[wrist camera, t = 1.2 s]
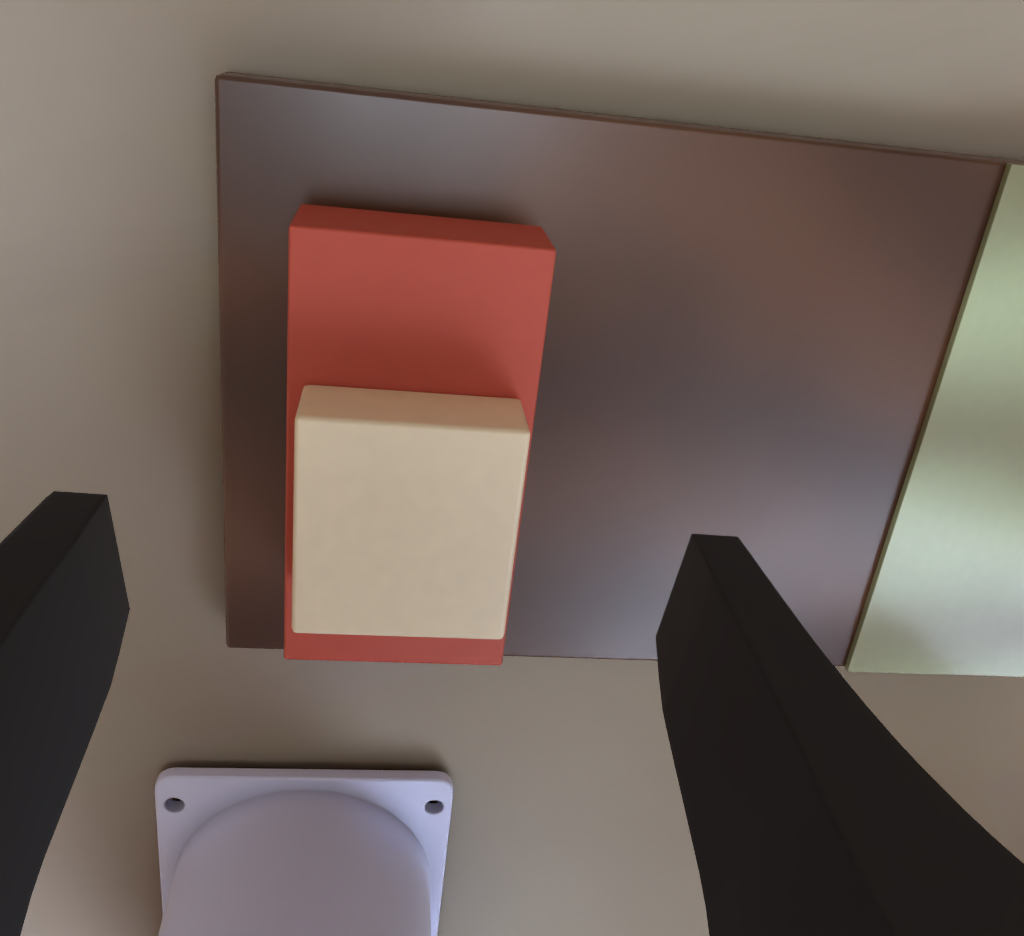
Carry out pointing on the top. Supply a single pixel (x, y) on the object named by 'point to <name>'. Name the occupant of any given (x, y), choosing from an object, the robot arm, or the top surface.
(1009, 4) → the top surface
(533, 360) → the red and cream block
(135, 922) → the top surface
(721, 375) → the board
